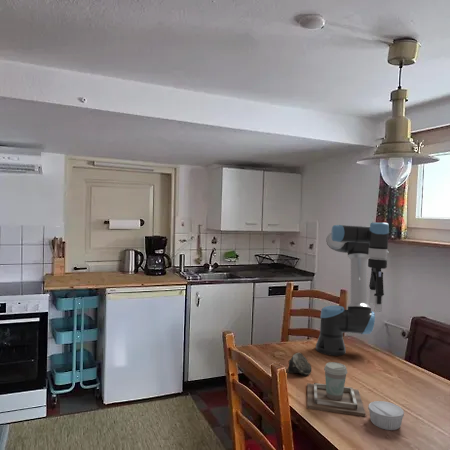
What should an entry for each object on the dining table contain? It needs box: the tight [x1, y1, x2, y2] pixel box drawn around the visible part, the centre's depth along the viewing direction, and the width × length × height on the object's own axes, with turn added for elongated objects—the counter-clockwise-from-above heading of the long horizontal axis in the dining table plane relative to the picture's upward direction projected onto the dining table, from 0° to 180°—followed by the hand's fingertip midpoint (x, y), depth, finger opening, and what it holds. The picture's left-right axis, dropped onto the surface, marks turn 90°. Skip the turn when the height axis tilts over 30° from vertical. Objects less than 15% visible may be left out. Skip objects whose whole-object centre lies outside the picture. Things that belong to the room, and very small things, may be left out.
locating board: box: [306, 382, 367, 417], centre depth 150 cm, size 20×20×2 cm
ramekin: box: [367, 400, 405, 431], centre depth 134 cm, size 11×11×5 cm
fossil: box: [287, 352, 312, 377], centre depth 176 cm, size 11×9×10 cm
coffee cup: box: [324, 361, 348, 400], centre depth 151 cm, size 8×8×12 cm
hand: (375, 308), depth 169 cm, fingers open, 13 cm apart
